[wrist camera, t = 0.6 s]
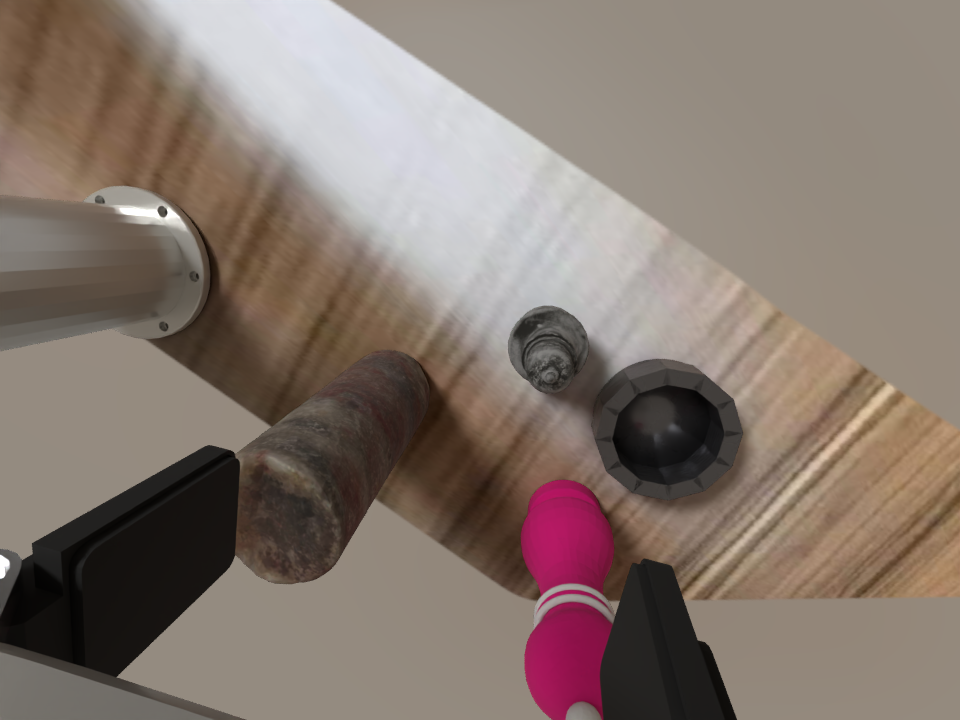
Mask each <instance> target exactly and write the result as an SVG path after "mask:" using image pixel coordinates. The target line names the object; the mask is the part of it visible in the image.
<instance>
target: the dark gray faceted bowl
mask: <svg viewBox="0 0 960 720" xmlns="http://www.w3.org/2000/svg"><path fill="white" fill-rule="evenodd" d="M591 427H592V430H593V434H594V437H595V440H596V443H597V446H598V449H599V452H600V455H601V458H602V461H603V464H604V466H605V469H606V471H607V472H608V473H609V474H610V475H611V476H613V477H614V478H615V479H616V480H617V481H619V482H620V483H621V484H622V485H623V486H625V487H626V488H627V489H628V490H630V491H631V492H632V493H635V494H639V495H644V496H649V497H654V498H659V499H664V500H672V499H676V498H679V497H683V496H687V495H691V494H695V493H699V492H703V491H705V490H706V489H707V488H708V487H710V486H711V485H712V484H713V483H714V482H715V481H716V480H718V479H719V478H720V477H721V476H722V475H723V474H724V473H725V472H727V471H728V470H729V469H730V468H731V466H732V465H733V462H734V459H735V456H736V453H737V450H738V447H739V444H740V441H741V438H742V435H743V431H742V428H741V424H740V420H739V417H738V413H737V410H736V406H735V403H734V399H733V398H731V397H730V396H729V395H728V394H727V393H726V392H724V391H723V390H722V389H721V388H720V387H719V386H717V385H716V384H715V383H714V382H713V381H712V380H710V379H709V378H708V377H707V376H706V375H705V374H703V373H702V372H701V371H699V370H698V369H697V368H696V367H694V366H693V365H689V364H685V363H682V362H679V361H675V360H668V359H652V360H646V361H642V362H638V363H635V364H633V365H630V366H628V367H626V368H625V369H623V370H621V371H620V372H618V373H617V374H616V375H614V376H613V377H612V378H611V379H610V380H609V381H608V382H607V384H606V385H605V386H604V387H603V389H602V390H601V392H600V394H599V395H598V398H597V400H596V403H595V406H594V411H593V420H592V424H591Z"/></svg>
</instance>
